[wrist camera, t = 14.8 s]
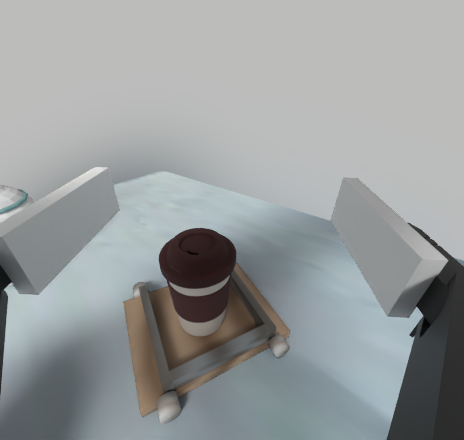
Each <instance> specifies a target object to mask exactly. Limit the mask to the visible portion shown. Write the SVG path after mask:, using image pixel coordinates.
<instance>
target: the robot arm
mask: <svg viewBox="0 0 464 440" xmlns="http://www.w3.org/2000/svg"><path fill="white" fill-rule="evenodd" d="M118 211H119V206H118V202H117V198H116V195H115V191H114V187H113V184H112V180H111V176H110V172H109V169H108V168H102V167H95V168H93V169H91V170H89V171H88V172H86V173H84V174H83V175H81V176H79V177H77V178H76V179H74V180H72V181H71V182H69V183H67V184H66V185H64V186H62V187H61V188H59V189H57V190H55V191H54V192H52V193H50V194H49V195H47V196H45V197H43V198H42V199H40V200H39V201H37V202H35V203H33V204H32V205H30V206H28V207H26V208H25V209H23V210H21V211H20V212H18V213H16V214H15V215H13V216H11V217H9V218H8V219H6V220H4V221H3V222H1V223H0V393H1V380H2V367H3V354H4V342H5V329H6V316H7V303H8V296H7V293H6V292H5V291H4V289H5V288H6V287H7V286H8V285H9V284H10V283H12V284H13V285H14V287H15V288H16V290H17V291H18V293H19V294H34V295H39V294H40V293H41V292H42V290H43V289H44V288H45V287H46V286H47V285H48V284H49V283H50V282H51V281H52V280H53V279H54V278H55V277H56V276H57V275H58V274H59V273H60V272H61V271H62V270H63V269H64V268H65V267H66V266H67V264H68V263H69V262H70V261H71V260H72V259H73V258H74V257H75V256H76V255H77V254H78V253H79V252H80V251H81V250H82V249H83V248H84V247H85V246H86V245H87V244H88V243H89V242H90V241H91V239H92V238H93V237H94V236H95V235H96V234H97V233H98V232H99V231H100V230H101V229H102V228H103V227H104V226H105V225H106V224H107V223H108V222H109V221H110V220H111V219H112V218H113V217H114V216H115V215H116V213H117V212H118ZM331 222H332V223H333V225H334V227H335V229H336V230H337V232H338V234H339V235H340V237H341V239H342V240H343V242H344V244H345V245H346V247H347V249H348V251H349V252H350V254H351V256H352V257H353V259H354V261H355V262H356V264H357V266H358V268H359V269H360V271H361V273H362V274H363V276H364V278H365V279H366V281H367V283H368V284H369V286H370V288H371V290H372V291H373V293H374V295H375V296H376V298H377V300H378V301H379V303H380V305H381V307H382V308H383V310H384V312H385V313H386V315H387V316H390V317H406V318H409V317H410V315H411V314H412V312H413V311H414V309H415V308H416V306H417V307H418V309H419V310H420V311H421V313H422V314H423V315H424V316H423V317H422V319H421V320H420V321H419V323H418V324H417V325H416V327H415V328H414V330H413V331H412V332H411V334H410V336H411V337H414V336H415V338H414V342H413V345H412V349H411V353H410V356H409V360H408V364H407V367H406V371H405V375H404V378H403V382H402V386H401V389H400V393H399V397H398V400H397V404H396V408H395V411H394V415H393V419H392V422H391V426H390V430H389V434H388V437H387V440H464V267H463V266H462V265H461V264H460V263H459V262H458V261H456V260H455V259H454V258H453V257H452V256H451V255H449V254H448V253H447V252H446V251H445V250H444V249H443V248H442V247H440V246H438V245H437V243H436V242H435V241H434V240H432V239H430V237H429V236H428V235H427V234H425V233H424V232H423V231H422V230H421V229H419V228H417V227H415V226H413V225H412V224H410V223H407V222H405V221H404V220H403V219H402V218H401V217H400V216H399V215H398V214H397V213H395V212H394V211H393V210H392V209H391V208H390V207H389V206H388V205H386V203H384V202H383V201H382V200H381V199H380V198H379V197H378V196H377V195H376V194H374V193H373V192H372V191H371V190H370V189H369V188H368V187H366V185H365V184H363V183H362V182H361V181H360V180H359V179H358V178H343V180H342V184H341V187H340V191H339V194H338V197H337V201H336V204H335V208H334V211H333V214H332V218H331Z"/></svg>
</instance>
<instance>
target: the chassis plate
mask: <svg viewBox="0 0 464 440" xmlns="http://www.w3.org/2000/svg"><path fill="white" fill-rule="evenodd" d="M133 292H134V297H135V298H133V299H130V300H127V301H124V309H125V315H126V322H127V328H128V335H129V341H130V348H131V355H132V361H133V368H134V374H135V381H136V388H137V394H138V401H139V407H140V413H141V415H142V417H144V416H146V415H148V414H149V413H151V412H153V411H155V410H157V409H158V414H159V419H160V423H161V424H166V423H168V422H171V421H172V420H174V419H175V418H177V417H178V416H179V415H180V413H181V408H180V404H179V400H178V397H180V396H182V395H184V394H186V393H187V392H189V391H191V390H193V389H195V388H197V387H198V386H200V385H202V384H204V383H206V382H207V381H209V380H211V379H213V378H215V377H217V376H218V375H220V374H222V373H224V372H226V371H227V370H229V369H231V368H233V367H235V366H236V365H238V364H240V363H242V362H244V361H246V360H247V359H249V358H251V357H253V356H255V355H256V354H258V353H260V352H262V351H264V350H266V349H267V348H269V347H270V349H271V350H272V352H273V353H274V355H275V356H276V357H277V358H279V357H281V356H283V355H284V354H286V353H287V351H288V350H289V348H290V346H289V345H288V344H287V342H286V341H285V340H284V339H286V338H287V337H289V334H290V330H289V329H288V328H287V326H286V325H285V324H284V323H283V321H282V320H281V319H280V317H279V316H278V315H277V314H276V312H275V311H274V310H273V308H272V307H271V306H270V305H269V303H268V302H267V301H266V299H265V298H264V297H263V296H262V294H261V293H260V292H259V291H258V289H257V288H256V287H255V285H254V284H253V283H252V282H251V280H250V279H249V278H248V276H247V275H246V274H245V273H244V271H243V270H242V269H241V267H240V266H239V265H238V264H237V263H236V264H235V267H234V270H233V271H232V275H231V283H230V291H229V299H228V304H227V307H226V312H225V319H224V322H223V323H222V325H221V327H220V328H219V329H218V330H217V331H216V332H214V333H212V334H210V335H207V336H193V335H191V334H189V333H187V332H186V331H185V330H184V329H183V328H182V326H181V324H180V321H179V318H178V314H177V312H176V310H175V308H174V305H173V301H172V298H171V294H170V291H169V287H165V288H162V289H159V290H156V291H153V292H150V293H149V291H148V287H147V284H146V283H144V282H140V283H137V284H135V285H134V287H133Z"/></svg>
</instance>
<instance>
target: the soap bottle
mask: <svg viewBox="0 0 464 440" xmlns="http://www.w3.org/2000/svg"><path fill="white" fill-rule="evenodd" d="M33 203H35V202H34V201H33V199H32V198H30V197H29V196H28V194H27V193H26V192H24V191H23V190H19V189H15V188H13V187H9V186H3V185H0V223H1V222H3V221H4V220H6V219H8V218H9V217H11V216H13V215H15V214H16V213H18V212H20V211H21V210H23V209H25V208H26V207H28V206H30V205H32V204H33ZM12 285H13V284H12V283H10V284H9V285H8V286H12Z"/></svg>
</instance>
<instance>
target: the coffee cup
mask: <svg viewBox="0 0 464 440" xmlns="http://www.w3.org/2000/svg"><path fill="white" fill-rule="evenodd" d="M159 263H160V269H161V272H162V274H163V276H164V277H165V278H166V279H167V283H168V287H169V291H170V294H171V298H172V301H173V305H174V308H175V310H176V312H177V314H178V318H179V321H180V324H181V326H182V328H183V329H184V330H185V331H186V332H187V333H189V334H191V335H193V336H207V335H210V334H212V333H214V332H216V331H217V330H218V329H219V328H220V327H221V325H222V323H223V322H224V319H225V312H226V307H227V304H228V299H229V291H230V283H231V275H232V271H233V270H234V267H235V264H236V249H235V247H234V245H233V244H232V242H231V241H230V240H229V239H227V238H226V237H224V236H223V235H220V234H219V233H217V232H216V231H213V230H210V229H205V228H194V229H189V230H186V231H183V232H181V233H179V234H178V235H176V236H175V237H174V238H173V239H171V240H170V241H168V242H167V243H166V244H165V245H164V246H163V248H162V250H161V251H160V254H159Z"/></svg>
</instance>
